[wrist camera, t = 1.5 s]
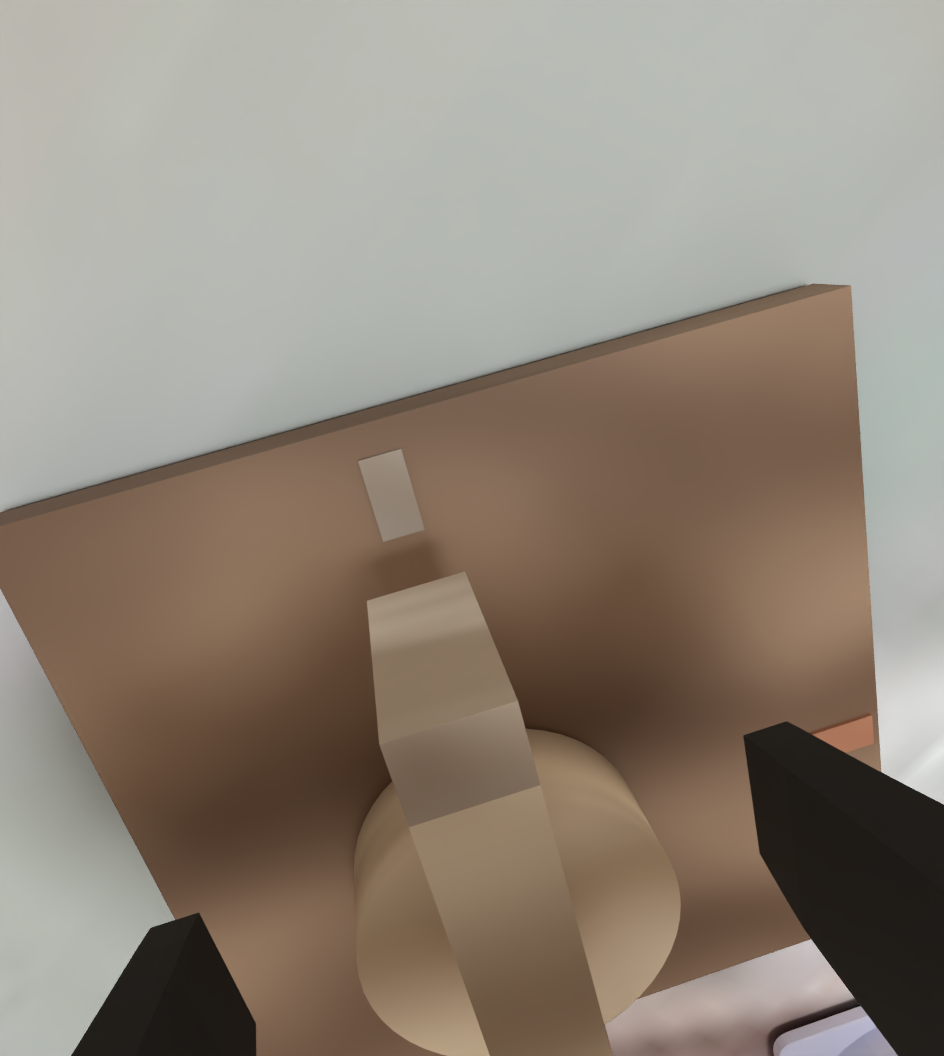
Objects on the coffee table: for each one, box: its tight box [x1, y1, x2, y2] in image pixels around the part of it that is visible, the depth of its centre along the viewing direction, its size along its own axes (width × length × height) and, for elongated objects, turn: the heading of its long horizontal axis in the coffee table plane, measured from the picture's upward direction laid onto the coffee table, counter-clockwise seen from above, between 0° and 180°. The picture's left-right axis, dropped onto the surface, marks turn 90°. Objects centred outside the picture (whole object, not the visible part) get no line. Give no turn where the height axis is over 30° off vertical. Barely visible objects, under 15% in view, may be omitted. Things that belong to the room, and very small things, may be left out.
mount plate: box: [0, 284, 881, 1056], centre depth 17 cm, size 16×16×1 cm
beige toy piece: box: [354, 572, 681, 1056], centre depth 13 cm, size 11×6×6 cm, turn 14°
